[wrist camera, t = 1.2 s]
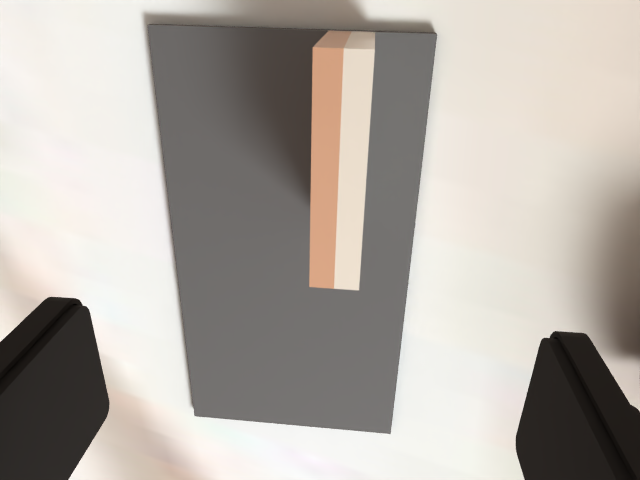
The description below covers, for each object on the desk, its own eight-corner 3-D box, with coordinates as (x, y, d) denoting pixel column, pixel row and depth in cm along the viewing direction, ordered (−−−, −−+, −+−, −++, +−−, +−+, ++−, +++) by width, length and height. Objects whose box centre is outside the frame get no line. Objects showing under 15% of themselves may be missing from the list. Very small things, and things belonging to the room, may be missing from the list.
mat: (151, 23, 26) (147, 24, 25) (436, 33, 24) (436, 34, 24) (196, 410, 37) (194, 415, 37) (390, 428, 36) (390, 433, 36)
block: (328, 30, 24) (312, 47, 18) (374, 32, 24) (374, 49, 18) (323, 221, 29) (309, 286, 23) (362, 223, 29) (359, 290, 23)
